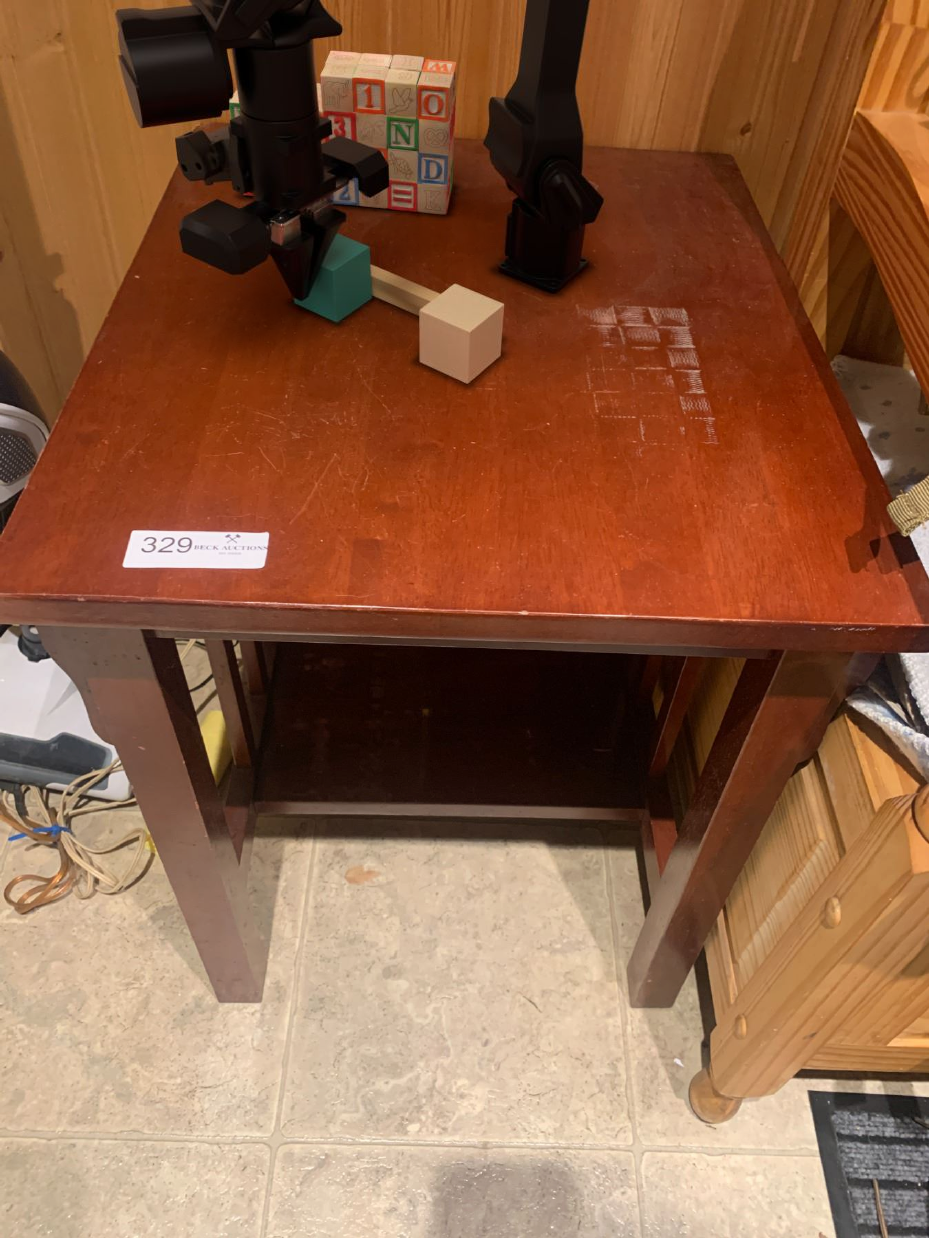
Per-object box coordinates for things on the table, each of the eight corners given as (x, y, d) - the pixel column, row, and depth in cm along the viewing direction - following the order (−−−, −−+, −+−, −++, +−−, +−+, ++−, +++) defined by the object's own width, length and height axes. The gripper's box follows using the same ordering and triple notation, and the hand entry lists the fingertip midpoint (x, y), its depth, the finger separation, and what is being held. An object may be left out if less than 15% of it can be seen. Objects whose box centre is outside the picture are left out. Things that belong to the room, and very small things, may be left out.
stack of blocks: (241, 198, 94) (221, 66, 85) (256, 169, 98) (238, 41, 89) (447, 215, 93) (450, 85, 84) (454, 186, 97) (457, 58, 88)
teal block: (372, 298, 84) (369, 246, 80) (336, 323, 81) (332, 271, 77) (330, 279, 85) (325, 228, 81) (294, 303, 83) (287, 251, 79)
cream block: (500, 356, 79) (504, 304, 75) (467, 384, 76) (469, 332, 72) (453, 335, 80) (454, 283, 77) (419, 362, 78) (419, 310, 74)
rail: (498, 339, 80) (499, 319, 79) (488, 347, 79) (489, 327, 78) (339, 270, 86) (338, 250, 85) (329, 277, 86) (327, 257, 84)
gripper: (283, 41, 75) (302, 225, 87) (103, 116, 65) (153, 313, 77) (391, 78, 71) (395, 265, 83) (218, 163, 61) (251, 362, 73)
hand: (300, 298), depth 79 cm, fingers closed
